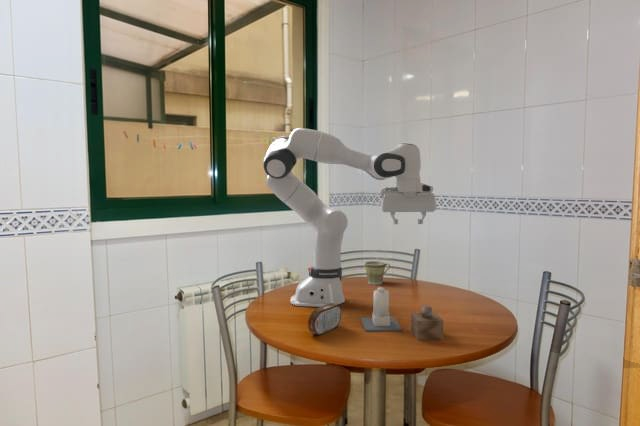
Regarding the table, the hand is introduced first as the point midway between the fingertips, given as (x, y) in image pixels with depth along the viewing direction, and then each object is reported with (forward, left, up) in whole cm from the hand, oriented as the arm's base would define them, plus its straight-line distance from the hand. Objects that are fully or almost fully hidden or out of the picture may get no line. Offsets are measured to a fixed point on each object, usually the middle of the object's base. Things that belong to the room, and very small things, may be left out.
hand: (408, 224), depth 154 cm
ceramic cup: (-4, +44, -33) cm, 55 cm away
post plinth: (0, -26, -33) cm, 42 cm away
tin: (-32, -21, -33) cm, 51 cm away
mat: (-13, -16, -33) cm, 39 cm away
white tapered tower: (-13, -16, -32) cm, 38 cm away
